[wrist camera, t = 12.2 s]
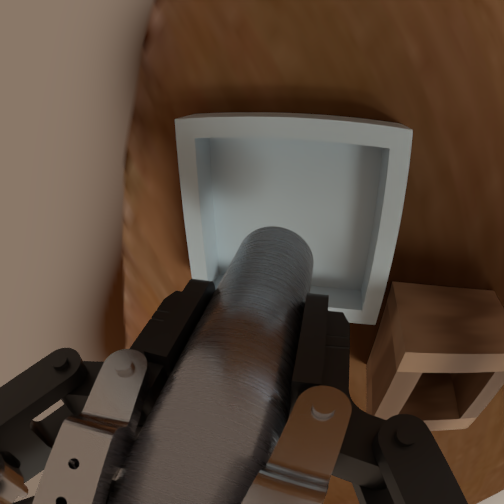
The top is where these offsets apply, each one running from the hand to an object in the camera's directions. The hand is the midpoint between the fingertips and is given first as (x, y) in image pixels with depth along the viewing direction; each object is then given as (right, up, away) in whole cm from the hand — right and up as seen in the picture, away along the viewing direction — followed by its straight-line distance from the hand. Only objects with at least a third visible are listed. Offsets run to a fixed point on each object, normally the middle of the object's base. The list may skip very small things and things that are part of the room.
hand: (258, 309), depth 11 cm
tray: (+2, +4, +7) cm, 8 cm away
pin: (+1, +2, +3) cm, 3 cm away
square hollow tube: (+12, -4, +9) cm, 16 cm away
